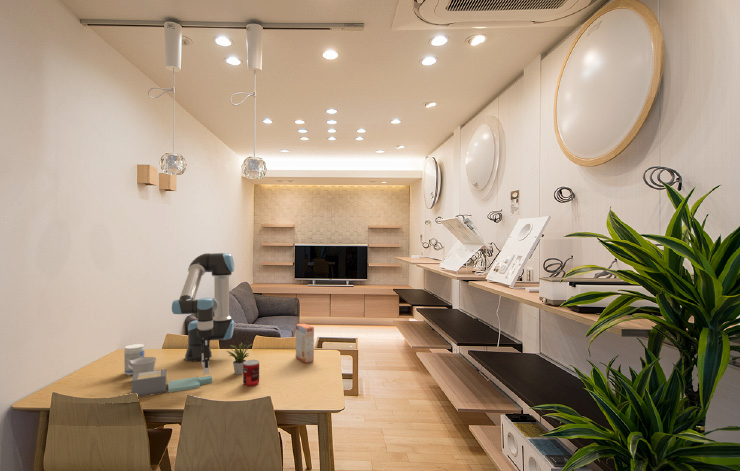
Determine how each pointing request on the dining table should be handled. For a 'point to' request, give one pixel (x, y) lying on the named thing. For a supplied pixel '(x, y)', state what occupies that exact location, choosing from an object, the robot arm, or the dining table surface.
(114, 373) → the dining table surface
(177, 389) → the lid
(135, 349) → the supplement tub
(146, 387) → the tub
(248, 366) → the canned food
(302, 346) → the cracker box
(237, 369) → the house plant
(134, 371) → the teacup
